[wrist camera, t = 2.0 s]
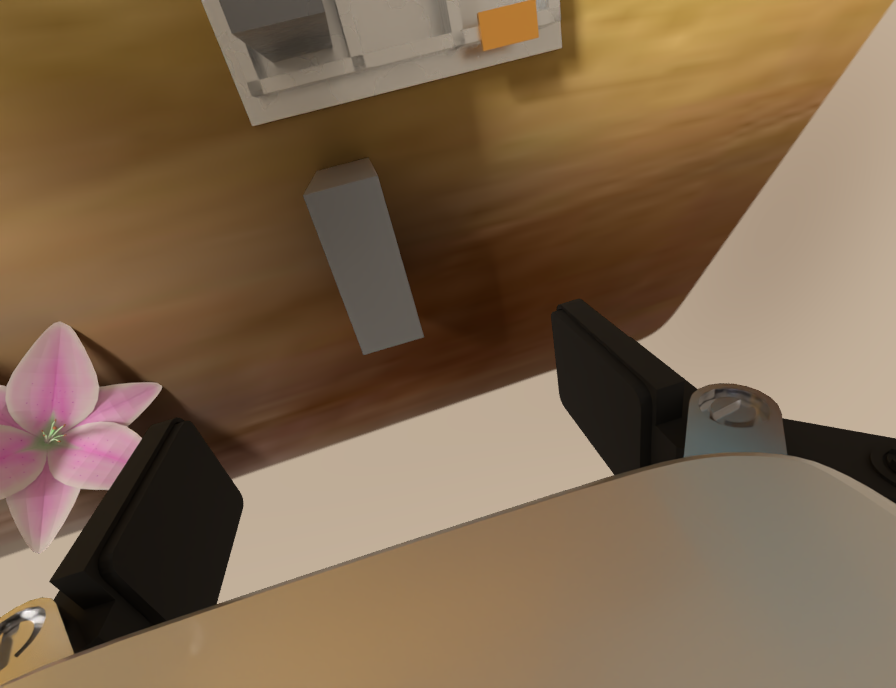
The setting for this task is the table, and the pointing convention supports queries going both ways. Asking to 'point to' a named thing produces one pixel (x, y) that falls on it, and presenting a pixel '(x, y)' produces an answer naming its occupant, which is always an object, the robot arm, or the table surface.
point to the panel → (363, 254)
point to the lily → (62, 432)
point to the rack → (367, 46)
